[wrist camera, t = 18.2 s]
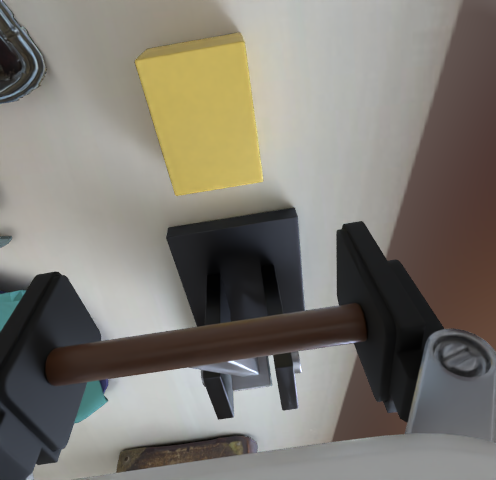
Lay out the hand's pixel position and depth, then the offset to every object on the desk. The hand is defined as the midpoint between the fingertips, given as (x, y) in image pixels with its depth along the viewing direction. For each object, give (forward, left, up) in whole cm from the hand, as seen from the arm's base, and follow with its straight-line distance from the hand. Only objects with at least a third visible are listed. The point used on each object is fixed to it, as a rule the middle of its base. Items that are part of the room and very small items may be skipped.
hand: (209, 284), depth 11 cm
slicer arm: (0, +6, -3) cm, 6 cm away
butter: (0, -2, -13) cm, 13 cm away
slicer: (0, +12, -13) cm, 18 cm away
